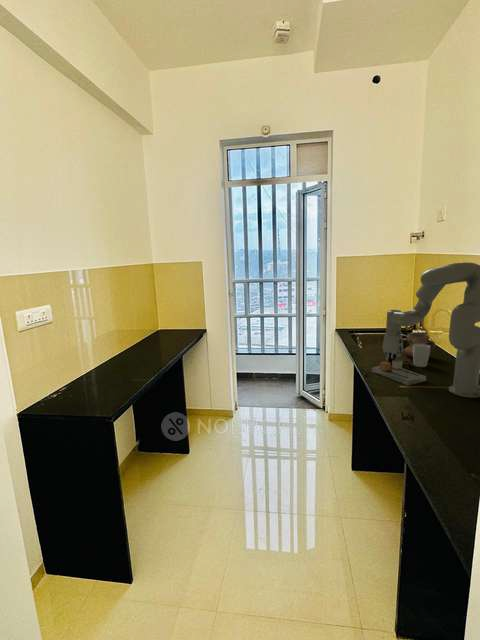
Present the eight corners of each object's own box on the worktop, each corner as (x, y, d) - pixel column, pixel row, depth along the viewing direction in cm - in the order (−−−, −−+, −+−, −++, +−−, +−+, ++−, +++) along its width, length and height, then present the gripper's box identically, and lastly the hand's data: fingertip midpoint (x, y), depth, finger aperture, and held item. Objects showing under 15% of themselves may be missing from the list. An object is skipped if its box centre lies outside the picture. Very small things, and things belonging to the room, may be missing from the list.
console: (425, 381, 171) (426, 376, 170) (408, 385, 165) (408, 380, 165) (388, 368, 191) (388, 363, 191) (371, 371, 186) (372, 367, 185)
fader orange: (390, 369, 180) (390, 362, 179) (384, 370, 178) (385, 363, 177) (385, 368, 183) (385, 361, 182) (380, 369, 181) (380, 362, 180)
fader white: (402, 367, 182) (402, 360, 182) (396, 369, 181) (397, 361, 180) (397, 366, 185) (397, 359, 185) (391, 367, 184) (392, 360, 183)
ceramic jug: (401, 358, 209) (403, 336, 207) (401, 352, 222) (403, 331, 220) (434, 361, 202) (437, 338, 199) (433, 355, 214) (435, 333, 212)
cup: (411, 366, 193) (412, 346, 191) (411, 362, 201) (413, 342, 199) (429, 368, 189) (430, 348, 187) (428, 364, 197) (430, 344, 195)
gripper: (410, 334, 178) (407, 367, 181) (386, 329, 191) (384, 360, 195) (400, 336, 175) (397, 369, 178) (377, 330, 188) (375, 362, 191)
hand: (391, 364), depth 186 cm, fingers closed
